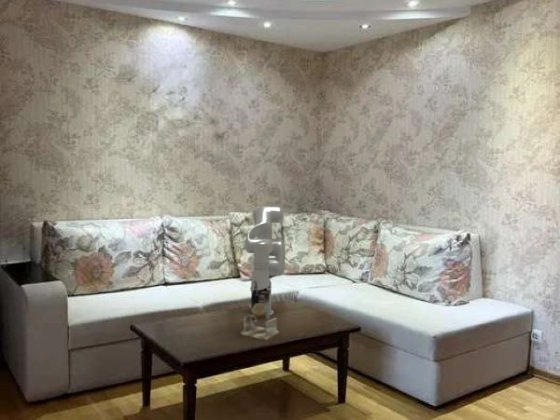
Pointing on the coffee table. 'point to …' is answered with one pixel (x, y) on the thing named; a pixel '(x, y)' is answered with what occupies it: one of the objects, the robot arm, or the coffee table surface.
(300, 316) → the coffee table surface
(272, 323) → the book rack
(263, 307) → the coffee box
